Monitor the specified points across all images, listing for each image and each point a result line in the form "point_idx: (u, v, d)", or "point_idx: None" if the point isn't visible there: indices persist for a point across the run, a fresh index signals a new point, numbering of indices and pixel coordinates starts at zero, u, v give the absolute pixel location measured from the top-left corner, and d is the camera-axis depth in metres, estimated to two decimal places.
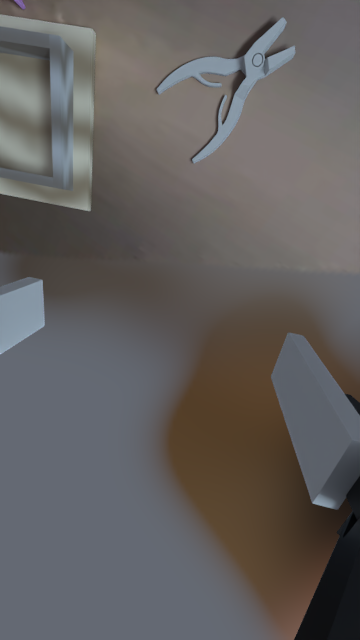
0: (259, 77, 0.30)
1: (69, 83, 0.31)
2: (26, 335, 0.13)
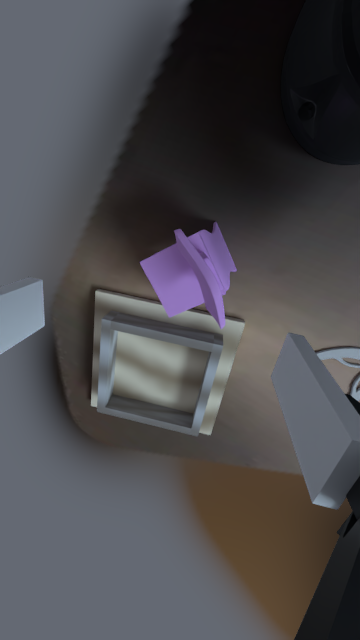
0: None
1: None
2: (26, 335, 0.13)
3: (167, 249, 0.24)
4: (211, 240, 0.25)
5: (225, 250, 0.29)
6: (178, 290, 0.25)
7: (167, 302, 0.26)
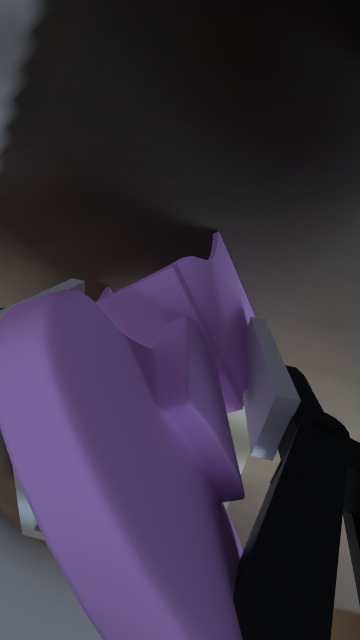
0: None
1: None
2: None
3: None
4: (208, 279, 0.11)
5: (237, 288, 0.15)
6: None
7: None
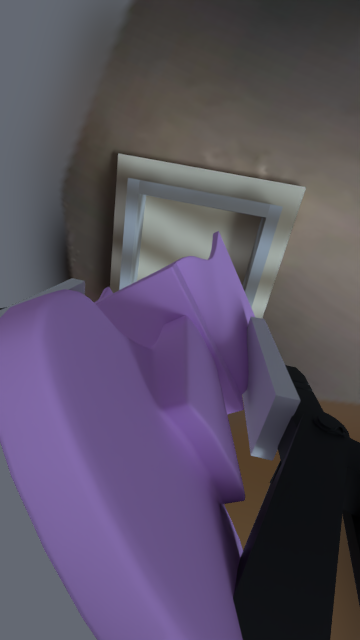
0: None
1: None
2: None
3: (96, 307, 0.09)
4: (208, 279, 0.11)
5: (237, 288, 0.14)
6: None
7: None
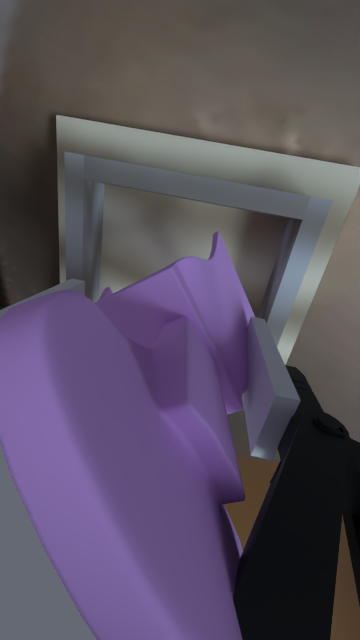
0: None
1: None
2: None
3: (96, 307, 0.09)
4: (208, 279, 0.11)
5: (237, 288, 0.15)
6: None
7: None
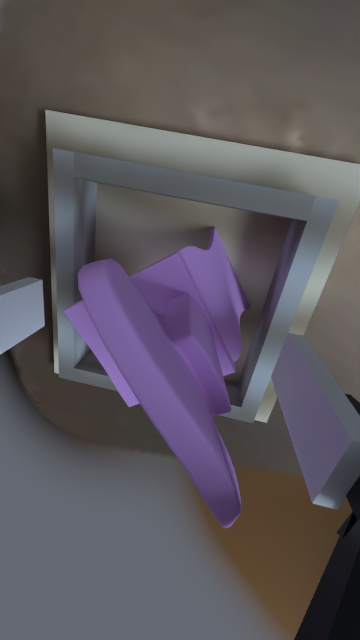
0: None
1: None
2: (26, 335, 0.13)
3: None
4: (205, 265, 0.13)
5: (231, 277, 0.17)
6: None
7: (123, 382, 0.14)
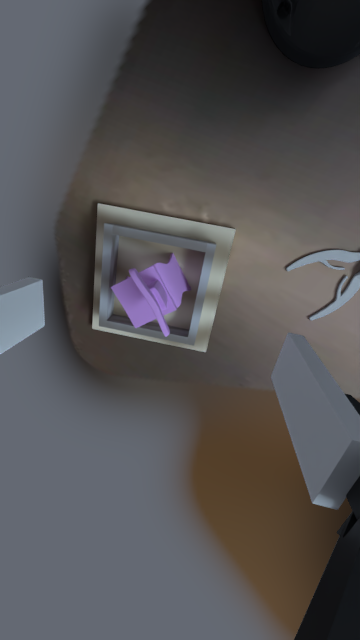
0: None
1: None
2: (26, 335, 0.13)
3: (131, 277, 0.32)
4: (165, 269, 0.33)
5: (180, 275, 0.37)
6: (141, 307, 0.33)
7: (133, 316, 0.34)
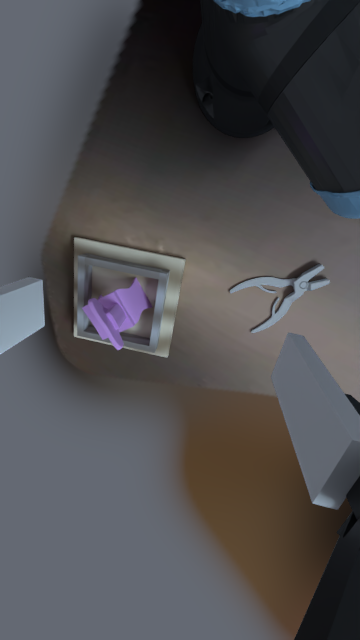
0: (303, 290, 0.43)
1: (166, 289, 0.45)
2: (26, 335, 0.13)
3: None
4: (125, 294, 0.42)
5: (141, 295, 0.46)
6: None
7: (100, 330, 0.42)
